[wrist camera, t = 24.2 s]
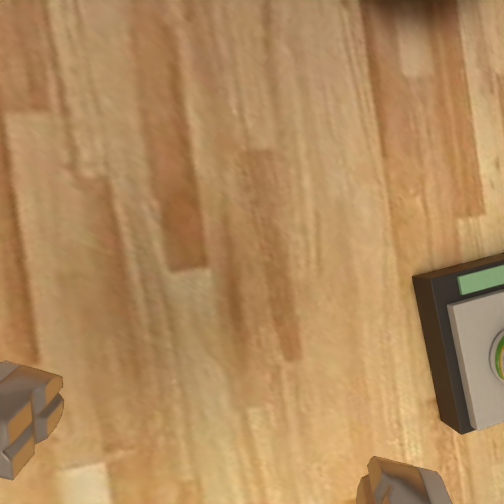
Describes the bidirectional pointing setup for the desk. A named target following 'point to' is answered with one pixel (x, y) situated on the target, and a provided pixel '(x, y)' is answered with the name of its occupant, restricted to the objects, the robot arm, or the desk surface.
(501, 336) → the supplement bottle
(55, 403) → the robot arm
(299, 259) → the desk surface
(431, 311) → the scale
